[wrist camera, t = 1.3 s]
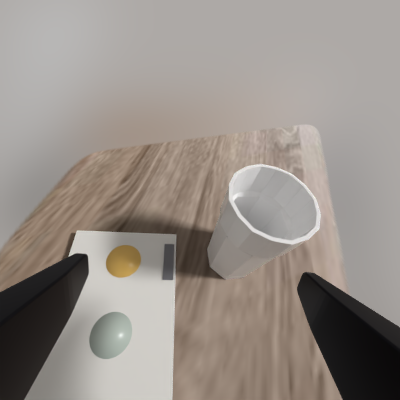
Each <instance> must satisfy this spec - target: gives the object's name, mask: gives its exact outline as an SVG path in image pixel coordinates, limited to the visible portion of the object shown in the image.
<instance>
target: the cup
mask: <svg viewBox="0 0 400 400" xmlns="http://www.w3.org/2000/svg"><path fill="white" fill-rule="evenodd" d="M320 216H321V213H320V210H319V206H318V202H317V199H316V198H315V196H314V195H313V194H312V193H311V191H310V190H309V189H308V187H307V186H306V185H305V184H304V183H302V182H301V181H300V180H299V179H298V178H297V177H295V176H294V175H293V174H291V173H289V172H287V171H284V170H282V169H280V168H277V167H273V166H268V165H264V164H257V165H252V166H246V167H245V168H243V169H241V170H239V171H237V172H235V174H234V176H233V178H232V180H231V182H230V184H229V186H228V189H227V192H226V195H225V197H224V200H223V203H222V205H221V208H220V216H219V219H218V221H217V224H216V227H215V229H214V232H213V235H212V238H211V240H210V243H209V246H208V248H207V252H208V259H209V266H210V267H211V268H212V269H213V270H214V271H215V272H217V273H218V274H219V275H220V276H221V277H223V278H224V279H237V278H244V277H245V276H246V275H248V274H249V273H251V272H253V271H254V270H256V269H258V268H259V267H261V266H262V265H264V264H266V263H267V262H269V261H270V260H272V259H274V258H276V257H279V256H281V255H284V254H286V253H287V252H289V251H291V250H292V249H294V248H295V247H297V246H299V245H300V244H302V243H303V242H305V241H307V240H308V239H310V238H311V237H312V236H313V235H314V234H315V233H316V232H317V231H318V230H319V228H320Z"/></svg>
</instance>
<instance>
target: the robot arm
mask: <svg viewBox="0 0 400 400" xmlns="http://www.w3.org/2000/svg"><path fill="white" fill-rule="evenodd" d="M88 274H89V263H88V255H87V254H82V253H75V254H73V255H71V256H69V257H67V258H65V259H63V260H62V261H60V262H58V263H56V264H54V265H52V266H50V267H48V268H46V269H44V270H42V271H40V272H38V273H36V274H34V275H33V276H31V277H29V278H27V279H25V280H23V281H21V282H19V283H17V284H15V285H13V286H11V287H9V288H7V289H6V290H4V291H2V292H0V400H24V399H25V398H26V396H27V394H28V392H29V390H30V389H31V387H32V385H33V383H34V381H35V380H36V378H37V376H38V374H39V372H40V371H41V369H42V367H43V365H44V363H45V362H46V360H47V358H48V356H49V354H50V353H51V351H52V349H53V347H54V345H55V344H56V342H57V340H58V338H59V337H60V335H61V333H62V331H63V329H64V328H65V326H66V324H67V322H68V320H69V318H70V316H71V315H72V312H73V310H74V308H75V306H76V303H77V301H78V299H79V296H80V294H81V292H82V289H83V287H84V284H85V282H86V280H87V277H88ZM297 291H298V295H299V298H300V301H301V303H302V306H303V309H304V312H305V315H306V318H307V320H308V323H309V326H310V328H311V331H312V333H313V335H314V338H315V340H316V342H317V344H318V346H319V348H320V351H321V353H322V355H323V357H324V359H325V362H326V364H327V366H328V368H329V370H330V373H331V375H332V377H333V379H334V381H335V384H336V386H337V388H338V390H339V392H340V395H341V397H342V399H343V400H400V327H398V326H397V325H395V324H394V323H392V322H390V321H389V320H387V319H386V318H384V317H383V316H381V315H379V314H378V313H376V312H375V311H373V310H372V309H370V308H368V307H367V306H365V305H364V304H362V303H360V302H359V301H357V300H356V299H354V298H353V297H351V296H349V295H348V294H346V293H345V292H343V291H342V290H340V289H338V288H337V287H335V286H334V285H332V284H331V283H329V282H327V281H326V280H324V279H323V278H321V277H320V276H318V275H316V274H315V273H309V272H305V273H303V274H302V276H301V279H300V282H299V284H298V287H297Z"/></svg>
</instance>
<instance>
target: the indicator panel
mask: <svg viewBox="0 0 400 400" xmlns="http://www.w3.org/2000/svg"><path fill="white" fill-rule="evenodd" d="M75 253H82V254H87V255H88V263H89V274H88V277H87V280H86V282H85V284H84V287H83V289H82V292H81V294H80V296H79V299H78V301H77V303H76V306H75V308H74V310H73V312H72V315H71V316H70V318H69V320H68V322H67V324H66V326H65V328H64V329H63V331H62V333H61V335H60V337H59V338H58V340H57V342H56V344H55V345H54V347H53V349H52V351H51V353H50V354H49V356H48V358H47V360H46V362H45V363H44V365H43V367H42V369H41V371H40V372H39V374H38V376H37V378H36V380H35V381H34V383H33V385H32V387H31V389H30V390H29V392H28V394H27V396H26V398H25V399H24V400H172V391H173V350H174V310H175V270H176V234H154V233H128V232H102V231H77V232H76V235H75V238H74V241H73V244H72V247H71V250H70V253H69V256H71V255H73V254H75Z"/></svg>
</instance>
